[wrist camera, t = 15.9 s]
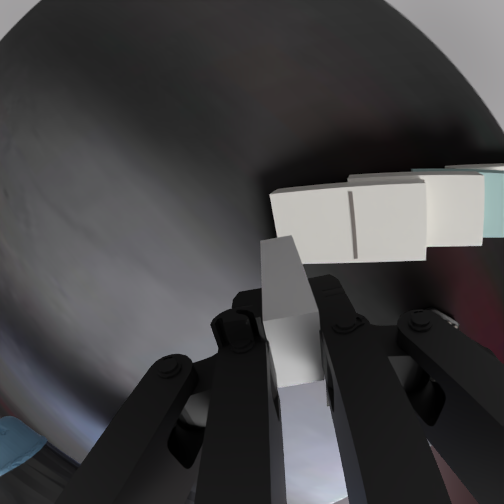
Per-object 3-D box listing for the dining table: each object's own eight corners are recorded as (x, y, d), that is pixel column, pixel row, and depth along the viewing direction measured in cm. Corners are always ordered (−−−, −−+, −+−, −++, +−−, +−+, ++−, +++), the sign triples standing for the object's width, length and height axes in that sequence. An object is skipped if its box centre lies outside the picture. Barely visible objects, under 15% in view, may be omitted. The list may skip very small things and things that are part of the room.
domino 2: (353, 248, 20) (482, 246, 15) (347, 178, 18) (484, 175, 13) (355, 239, 21) (474, 236, 17) (349, 174, 19) (476, 171, 15)
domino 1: (281, 264, 20) (425, 260, 16) (269, 194, 18) (425, 183, 14) (288, 253, 22) (421, 249, 17) (277, 188, 20) (420, 178, 16)
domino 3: (416, 238, 19) (521, 237, 14) (414, 172, 17) (525, 175, 13) (413, 229, 20) (512, 229, 16) (410, 168, 19) (515, 171, 14)
